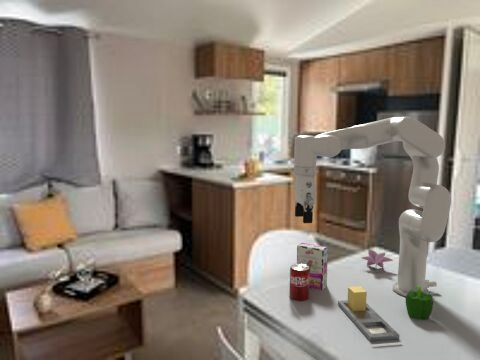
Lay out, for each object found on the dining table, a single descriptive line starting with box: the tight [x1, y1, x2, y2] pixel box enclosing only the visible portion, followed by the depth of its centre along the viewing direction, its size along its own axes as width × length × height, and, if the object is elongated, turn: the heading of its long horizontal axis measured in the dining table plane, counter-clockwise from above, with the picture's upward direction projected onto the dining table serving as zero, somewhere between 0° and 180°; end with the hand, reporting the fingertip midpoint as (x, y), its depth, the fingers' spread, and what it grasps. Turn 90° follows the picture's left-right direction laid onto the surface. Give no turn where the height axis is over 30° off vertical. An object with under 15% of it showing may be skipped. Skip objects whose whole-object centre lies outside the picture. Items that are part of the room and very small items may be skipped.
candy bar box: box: [296, 242, 329, 291], centre depth 153 cm, size 11×5×16 cm, turn 56°
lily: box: [361, 248, 394, 274], centre depth 171 cm, size 12×12×10 cm
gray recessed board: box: [337, 299, 400, 343], centre depth 126 cm, size 9×24×2 cm, turn 9°
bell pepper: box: [405, 285, 434, 320], centre depth 129 cm, size 8×8×10 cm
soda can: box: [288, 263, 311, 302], centre depth 142 cm, size 7×7×12 cm
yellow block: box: [347, 285, 368, 312], centre depth 132 cm, size 4×4×8 cm
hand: (303, 219), depth 138 cm, fingers open, 9 cm apart
